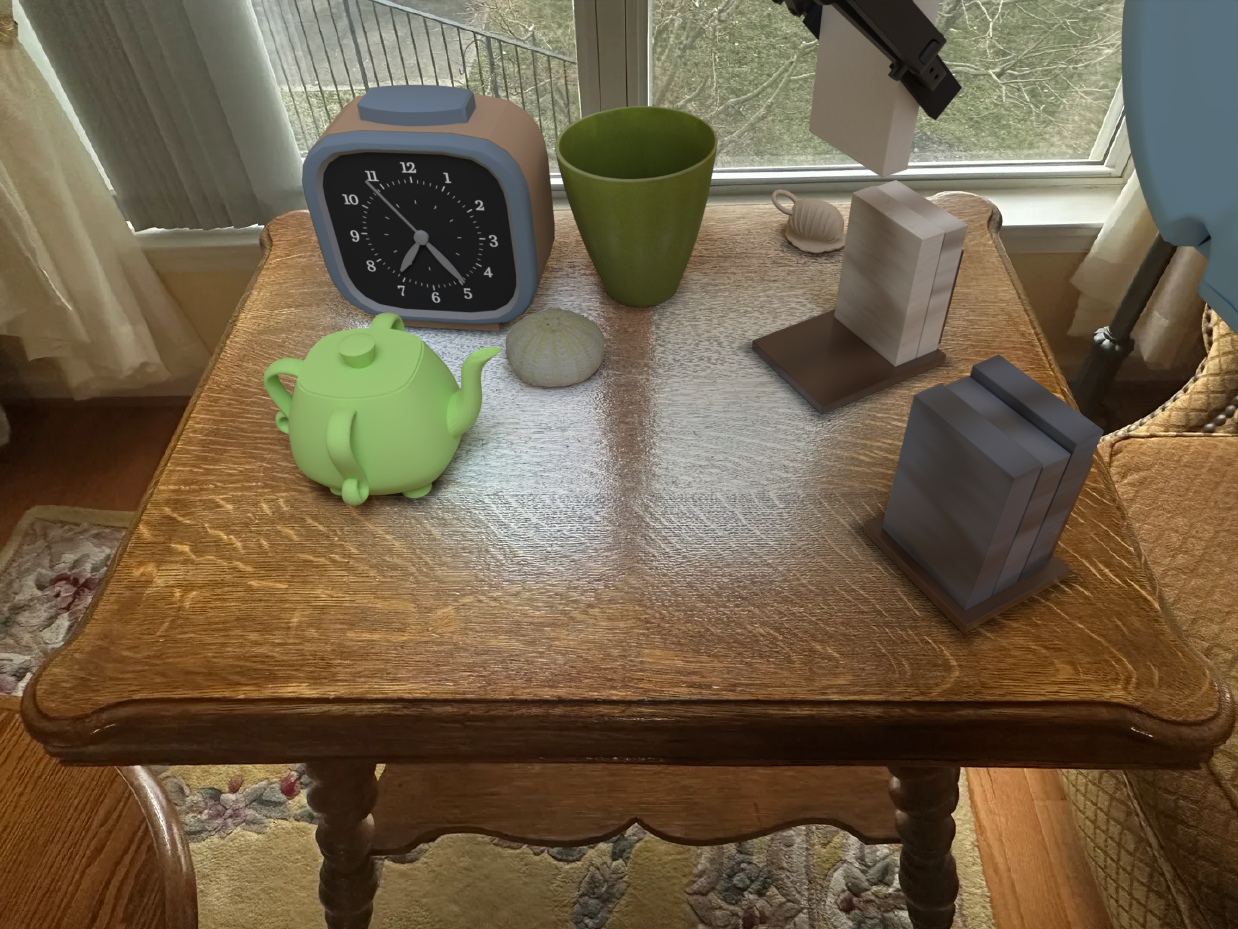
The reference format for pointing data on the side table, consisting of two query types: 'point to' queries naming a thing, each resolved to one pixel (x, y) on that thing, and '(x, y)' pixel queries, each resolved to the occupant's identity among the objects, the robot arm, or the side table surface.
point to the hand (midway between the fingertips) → (899, 78)
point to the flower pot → (638, 195)
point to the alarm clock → (433, 205)
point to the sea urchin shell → (555, 348)
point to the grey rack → (985, 491)
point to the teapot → (375, 410)
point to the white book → (862, 96)
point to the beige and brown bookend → (876, 302)
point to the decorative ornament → (812, 224)
